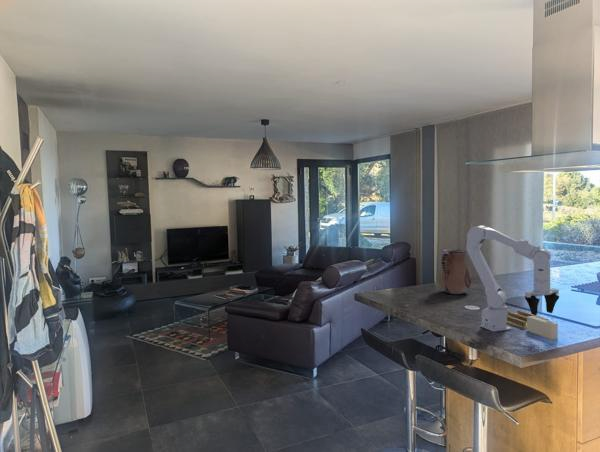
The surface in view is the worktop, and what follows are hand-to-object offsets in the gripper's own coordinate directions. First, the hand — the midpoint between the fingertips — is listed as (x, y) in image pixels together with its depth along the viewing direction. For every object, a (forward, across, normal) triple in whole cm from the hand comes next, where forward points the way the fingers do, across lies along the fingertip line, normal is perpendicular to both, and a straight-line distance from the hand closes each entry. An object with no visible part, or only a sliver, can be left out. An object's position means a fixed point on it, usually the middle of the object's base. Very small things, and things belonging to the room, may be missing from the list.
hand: (541, 313), depth 168 cm
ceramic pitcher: (+9, +13, +76) cm, 77 cm away
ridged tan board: (+8, +6, +17) cm, 20 cm away
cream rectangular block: (+9, 0, 0) cm, 9 cm away
